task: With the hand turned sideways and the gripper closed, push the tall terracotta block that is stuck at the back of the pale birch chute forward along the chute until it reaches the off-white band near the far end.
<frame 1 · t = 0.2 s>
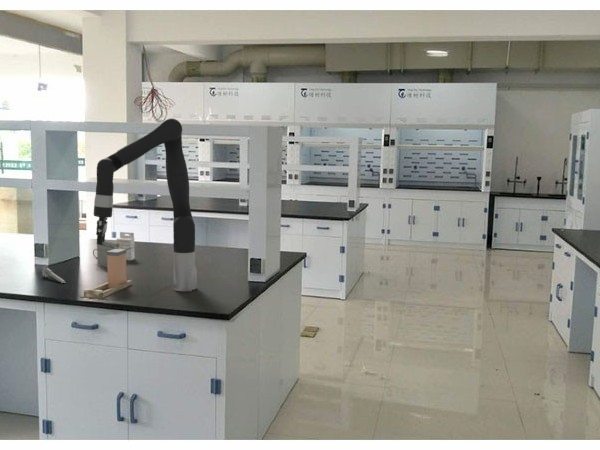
hand: (100, 243, 257), 22 cm above the worktop, tool pointing down, fingers open, 8 cm apart
chute: (108, 292, 260), on the worktop
ink cartridge box: (125, 259, 329), on the worktop
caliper: (54, 281, 280), on the worktop
jammed block: (117, 268, 265), point 9 cm above the worktop, slide at 0.0 cm
geiger counter: (106, 266, 311), on the worktop
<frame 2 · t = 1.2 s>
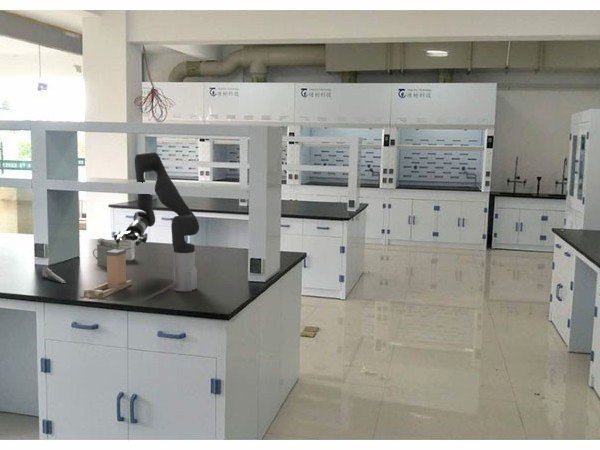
hand: (127, 242, 269), 20 cm above the worktop, tool horizontal, fingers open, 8 cm apart
jammed block: (116, 268, 265), point 9 cm above the worktop, slide at 0.3 cm
everything else where it was.
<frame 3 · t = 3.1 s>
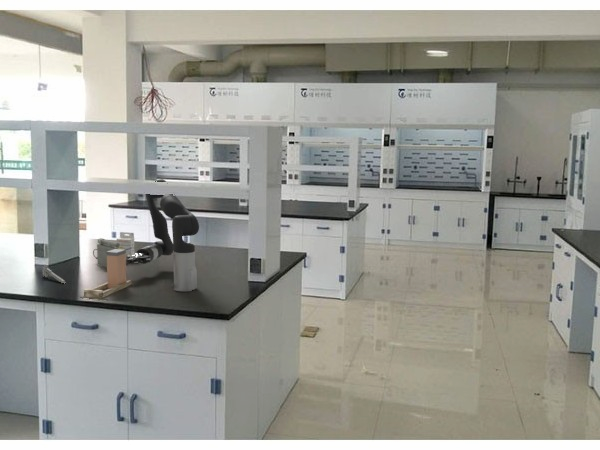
hand: (128, 261, 275), 10 cm above the worktop, tool horizontal, fingers closed
nothing on the worktop moved.
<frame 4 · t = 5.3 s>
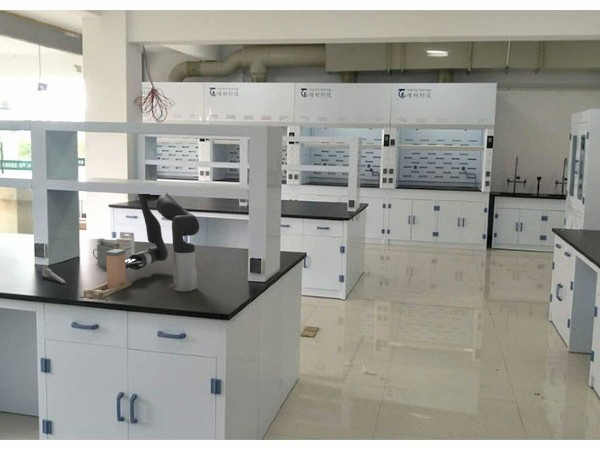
hand: (120, 267, 268), 9 cm above the worktop, tool horizontal, fingers closed
jammed block: (116, 268, 264), point 9 cm above the worktop, slide at 0.7 cm, touching gripper
everything else where it was.
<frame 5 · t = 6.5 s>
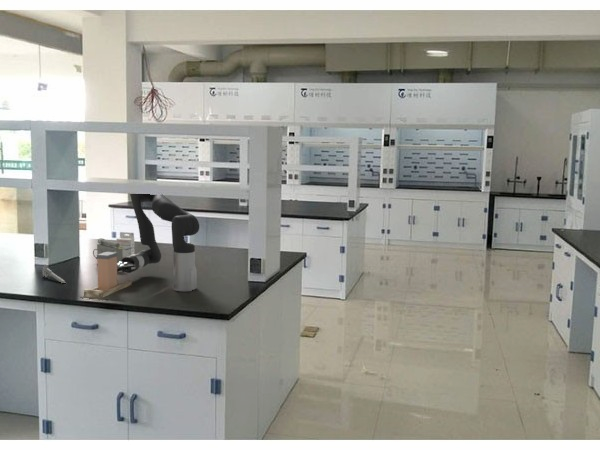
hand: (111, 270, 261), 9 cm above the worktop, tool horizontal, fingers closed
jammed block: (107, 272, 258), point 9 cm above the worktop, slide at 7.6 cm, touching gripper
everything else where it was.
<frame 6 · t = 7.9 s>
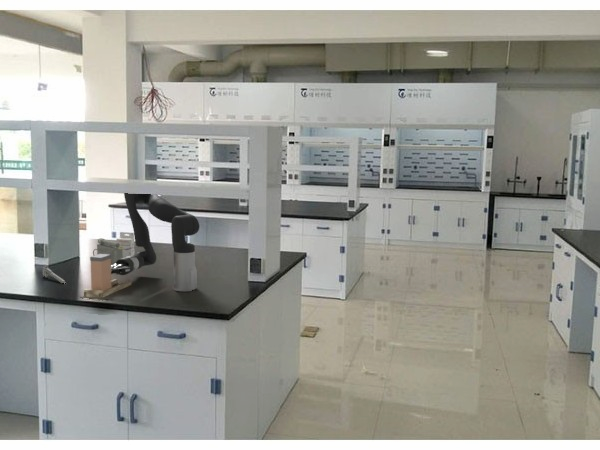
hand: (105, 273, 256), 9 cm above the worktop, tool horizontal, fingers closed
jammed block: (101, 274, 253), point 9 cm above the worktop, slide at 12.4 cm, touching gripper
everything else where it was.
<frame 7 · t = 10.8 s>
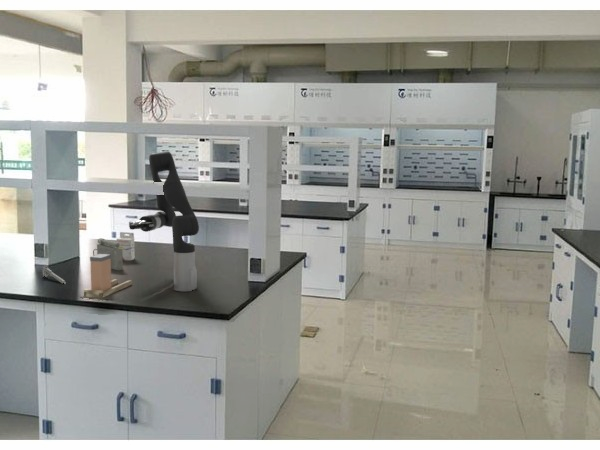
hand: (131, 227, 271), 26 cm above the worktop, tool horizontal, fingers closed
jammed block: (101, 274, 253), point 9 cm above the worktop, slide at 12.5 cm
everything else where it was.
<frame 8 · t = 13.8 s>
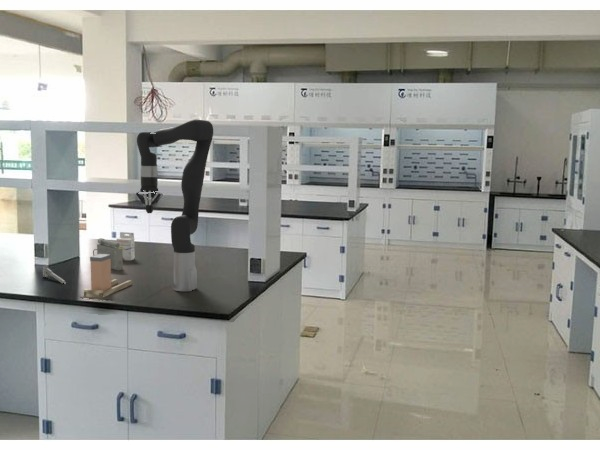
hand: (149, 213, 278), 32 cm above the worktop, tool pointing down, fingers closed
nothing on the worktop moved.
at the end: jammed block slide at 12.5 cm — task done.
